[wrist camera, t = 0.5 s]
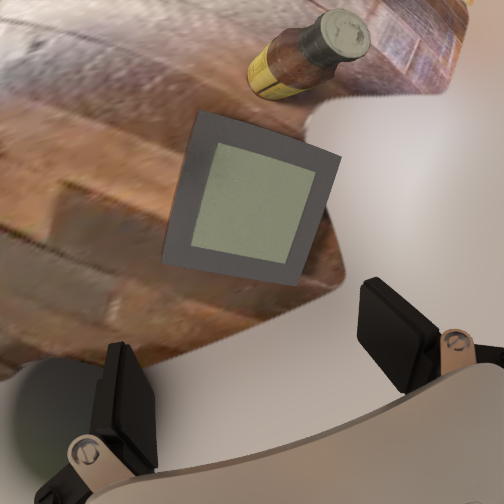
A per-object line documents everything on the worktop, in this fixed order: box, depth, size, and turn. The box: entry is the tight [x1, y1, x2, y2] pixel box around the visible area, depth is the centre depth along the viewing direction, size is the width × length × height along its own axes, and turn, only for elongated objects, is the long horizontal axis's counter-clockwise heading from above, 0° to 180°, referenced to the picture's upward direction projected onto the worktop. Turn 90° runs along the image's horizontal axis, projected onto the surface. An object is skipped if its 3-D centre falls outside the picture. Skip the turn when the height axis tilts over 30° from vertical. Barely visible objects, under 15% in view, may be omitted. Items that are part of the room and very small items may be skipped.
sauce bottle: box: [247, 9, 371, 100], centre depth 24 cm, size 7×6×20 cm
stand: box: [161, 110, 342, 286], centre depth 37 cm, size 18×18×4 cm
